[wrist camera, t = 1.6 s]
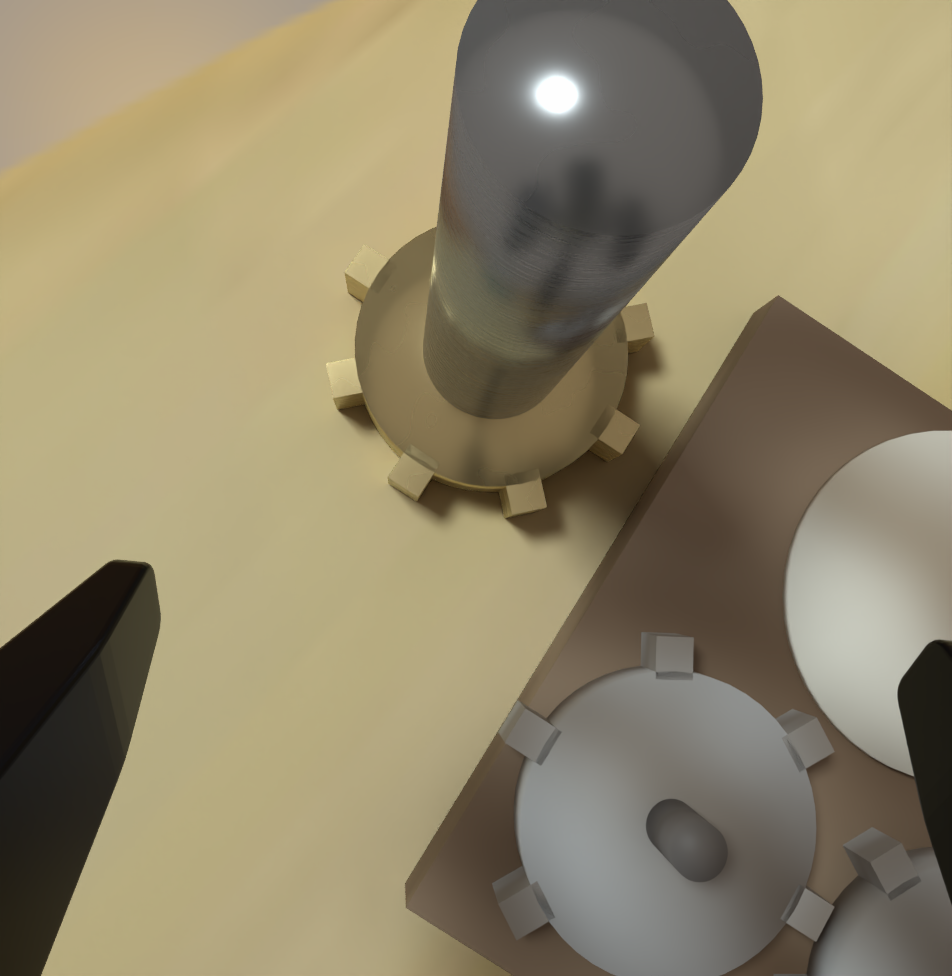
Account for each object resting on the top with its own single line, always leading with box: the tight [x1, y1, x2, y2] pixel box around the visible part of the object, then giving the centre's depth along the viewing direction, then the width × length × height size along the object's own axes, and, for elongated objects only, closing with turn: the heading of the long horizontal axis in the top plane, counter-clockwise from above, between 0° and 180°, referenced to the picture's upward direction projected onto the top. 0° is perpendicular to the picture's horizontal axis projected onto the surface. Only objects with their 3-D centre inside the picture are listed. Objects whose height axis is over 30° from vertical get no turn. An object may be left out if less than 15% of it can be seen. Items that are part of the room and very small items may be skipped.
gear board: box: [405, 295, 952, 976], centre depth 20 cm, size 18×17×5 cm
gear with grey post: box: [326, 0, 763, 518], centre depth 16 cm, size 8×8×13 cm
